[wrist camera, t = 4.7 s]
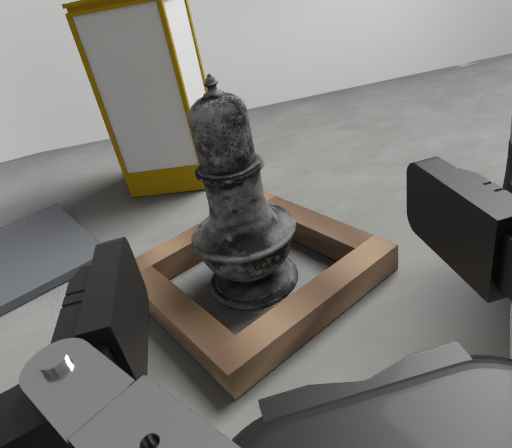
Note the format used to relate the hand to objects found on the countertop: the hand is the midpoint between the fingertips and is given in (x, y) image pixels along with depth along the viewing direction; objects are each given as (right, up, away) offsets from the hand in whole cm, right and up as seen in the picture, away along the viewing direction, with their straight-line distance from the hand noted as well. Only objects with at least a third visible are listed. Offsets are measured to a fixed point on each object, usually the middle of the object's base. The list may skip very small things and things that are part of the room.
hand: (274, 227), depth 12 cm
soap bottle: (-7, +6, +31) cm, 33 cm away
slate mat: (-19, -3, +20) cm, 28 cm away
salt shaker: (-1, -3, +14) cm, 14 cm away
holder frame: (-1, -3, +14) cm, 14 cm away
